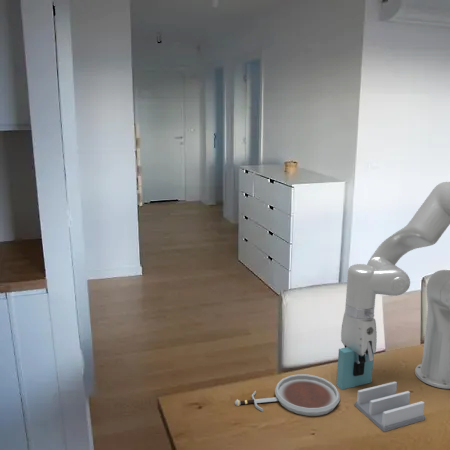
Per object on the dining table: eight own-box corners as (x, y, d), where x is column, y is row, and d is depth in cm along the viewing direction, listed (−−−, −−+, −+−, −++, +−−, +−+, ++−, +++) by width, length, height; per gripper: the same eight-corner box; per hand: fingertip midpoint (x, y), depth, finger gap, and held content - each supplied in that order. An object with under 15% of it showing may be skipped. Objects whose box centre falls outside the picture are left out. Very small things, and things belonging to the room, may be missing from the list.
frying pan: (228, 380, 130) (325, 369, 135) (228, 389, 131) (325, 379, 136) (241, 418, 114) (351, 405, 119) (241, 429, 115) (350, 415, 119)
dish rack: (393, 395, 127) (394, 380, 126) (424, 419, 117) (426, 403, 116) (354, 405, 123) (355, 390, 122) (383, 431, 112) (385, 415, 111)
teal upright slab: (365, 378, 136) (368, 342, 133) (371, 382, 133) (374, 346, 131) (336, 385, 132) (338, 348, 129) (341, 389, 130) (344, 352, 127)
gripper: (391, 319, 122) (385, 384, 126) (352, 298, 136) (348, 356, 141) (367, 324, 119) (362, 390, 123) (330, 301, 134) (326, 361, 138)
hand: (354, 371), depth 132 cm, fingers closed on teal upright slab, 2 cm apart
